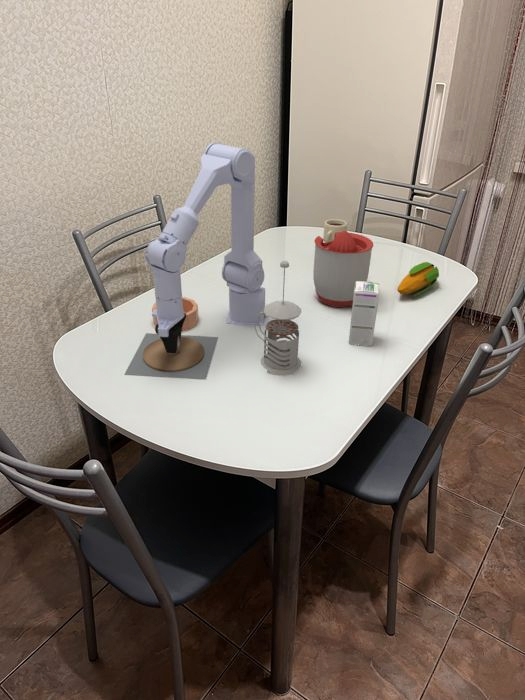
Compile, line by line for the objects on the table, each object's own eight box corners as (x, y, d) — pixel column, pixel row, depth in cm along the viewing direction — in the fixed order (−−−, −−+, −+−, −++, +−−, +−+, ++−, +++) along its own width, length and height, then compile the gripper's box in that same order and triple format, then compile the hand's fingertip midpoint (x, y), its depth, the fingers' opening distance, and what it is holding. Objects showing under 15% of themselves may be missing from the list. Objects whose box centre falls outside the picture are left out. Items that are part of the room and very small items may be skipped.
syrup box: (372, 347, 125) (380, 292, 118) (347, 344, 126) (354, 290, 119) (372, 335, 130) (380, 282, 122) (349, 332, 131) (355, 280, 123)
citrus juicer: (337, 280, 158) (344, 216, 147) (377, 303, 145) (387, 234, 135) (295, 292, 150) (299, 225, 140) (333, 316, 138) (341, 245, 127)
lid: (208, 340, 126) (207, 323, 123) (198, 373, 114) (197, 355, 111) (151, 337, 127) (149, 320, 124) (135, 370, 115) (133, 351, 112)
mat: (218, 338, 128) (218, 337, 127) (205, 380, 112) (205, 379, 112) (146, 334, 129) (146, 333, 128) (124, 376, 113) (124, 374, 113)
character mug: (335, 268, 165) (339, 229, 158) (315, 264, 168) (318, 225, 161) (349, 258, 173) (353, 219, 166) (329, 253, 176) (333, 216, 169)
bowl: (201, 313, 139) (200, 297, 136) (193, 334, 129) (192, 318, 127) (160, 310, 139) (158, 295, 137) (149, 331, 130) (147, 316, 127)
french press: (288, 380, 113) (294, 274, 100) (244, 364, 118) (244, 261, 105) (309, 359, 120) (317, 258, 107) (266, 345, 125) (269, 246, 112)
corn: (446, 260, 153) (414, 280, 140) (443, 284, 157) (411, 306, 144) (423, 255, 157) (389, 274, 145) (420, 278, 161) (387, 299, 148)
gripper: (158, 279, 118) (163, 331, 126) (141, 309, 106) (148, 364, 113) (189, 281, 118) (192, 332, 125) (175, 311, 106) (179, 366, 113)
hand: (173, 348), depth 119 cm, fingers closed on lid, 3 cm apart
